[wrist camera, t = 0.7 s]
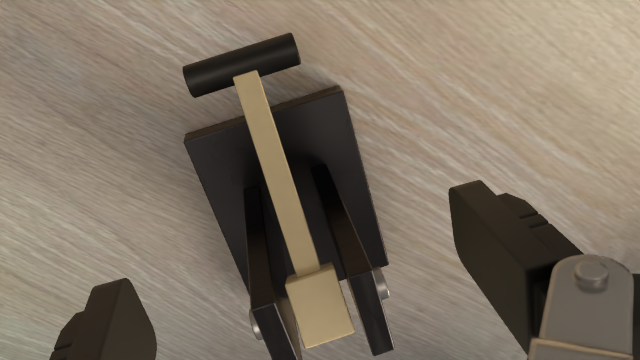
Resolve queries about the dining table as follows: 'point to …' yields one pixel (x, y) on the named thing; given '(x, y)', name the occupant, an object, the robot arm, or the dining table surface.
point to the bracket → (318, 206)
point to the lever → (279, 181)
